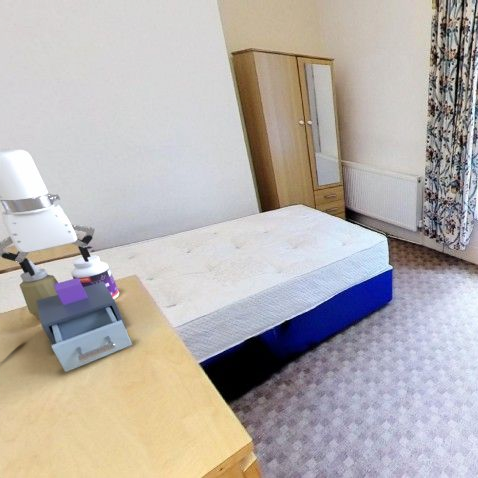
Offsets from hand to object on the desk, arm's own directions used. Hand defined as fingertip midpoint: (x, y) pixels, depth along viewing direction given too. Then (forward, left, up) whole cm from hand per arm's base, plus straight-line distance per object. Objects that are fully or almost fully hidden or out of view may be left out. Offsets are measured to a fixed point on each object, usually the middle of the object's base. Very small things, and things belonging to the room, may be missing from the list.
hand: (60, 266), depth 82 cm
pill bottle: (-2, +14, -19) cm, 24 cm away
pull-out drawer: (+8, -14, -18) cm, 24 cm away
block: (0, 0, -10) cm, 10 cm away
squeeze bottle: (-11, +9, -19) cm, 24 cm away
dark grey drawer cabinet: (+1, -2, -19) cm, 19 cm away
